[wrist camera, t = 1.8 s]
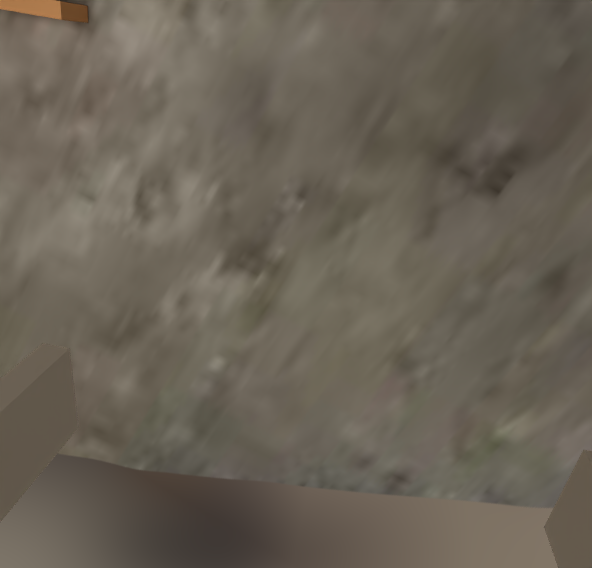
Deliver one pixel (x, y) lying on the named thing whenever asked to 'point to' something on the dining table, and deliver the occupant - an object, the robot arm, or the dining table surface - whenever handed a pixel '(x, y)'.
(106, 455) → the dining table surface
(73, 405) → the robot arm
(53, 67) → the dining table surface
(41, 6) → the bars
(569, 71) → the dining table surface
